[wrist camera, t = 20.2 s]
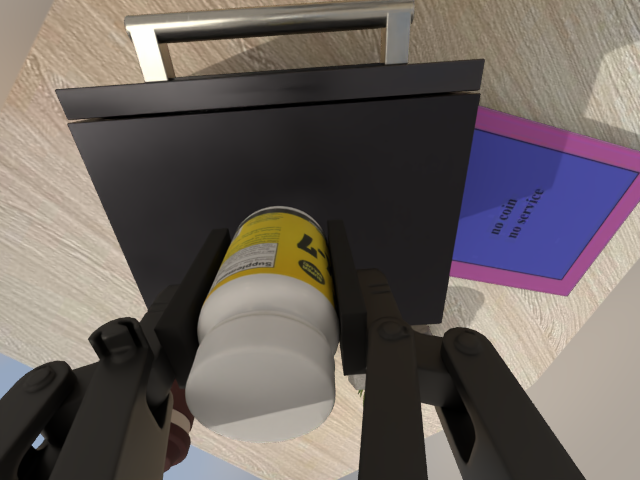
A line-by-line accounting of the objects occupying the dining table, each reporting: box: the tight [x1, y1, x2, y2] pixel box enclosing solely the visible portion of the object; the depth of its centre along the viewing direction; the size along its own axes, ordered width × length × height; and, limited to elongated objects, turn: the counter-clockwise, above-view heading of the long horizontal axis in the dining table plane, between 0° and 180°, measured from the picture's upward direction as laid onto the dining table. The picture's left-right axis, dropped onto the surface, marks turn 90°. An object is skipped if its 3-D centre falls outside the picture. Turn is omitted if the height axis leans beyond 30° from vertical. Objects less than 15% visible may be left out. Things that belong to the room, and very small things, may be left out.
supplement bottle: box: [185, 206, 340, 443], centre depth 12 cm, size 5×5×8 cm
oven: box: [67, 92, 481, 326], centre depth 30 cm, size 18×24×18 cm
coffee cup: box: [164, 379, 194, 472], centre depth 47 cm, size 10×10×15 cm
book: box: [450, 106, 640, 296], centre depth 40 cm, size 21×3×30 cm
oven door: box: [55, 0, 485, 120], centre depth 24 cm, size 5×24×18 cm, turn 94°
